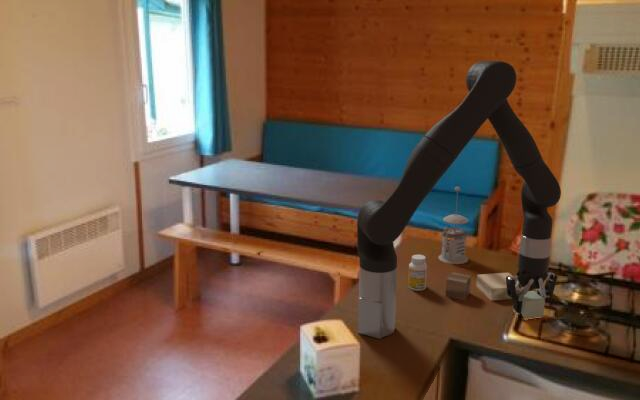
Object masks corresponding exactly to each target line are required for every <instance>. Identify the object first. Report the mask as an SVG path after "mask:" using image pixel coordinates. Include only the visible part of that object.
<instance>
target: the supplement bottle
mask: <svg viewBox="0 0 640 400" xmlns="http://www.w3.org/2000/svg"><path fill="white" fill-rule="evenodd" d="M407 277H408V280H407V281H408V283H407V285H408V288H409V290H412V291H419V292H420V291H425V290H426V289H427V285H428V284H427V281H428V280H427V279H428V265H427V263H426V256H425V255H423V254H413V255H412V256H411V262H409V264H408V276H407Z"/></svg>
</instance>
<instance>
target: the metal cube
mask: <svg viewBox="0 0 640 400" xmlns="http://www.w3.org/2000/svg"><path fill="white" fill-rule="evenodd" d="M471 280H472V275H468V274H464V273H463V274H462V273H458V272H454V271H453V272H451V273H450V274H449V275H448V277H447V278H446V282H445V297H447V298H451V299H456V300H460V301H466V299H467V298H468V297H469V295H470V294H471V287H472V285H471V283H472V281H471Z"/></svg>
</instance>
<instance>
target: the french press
mask: <svg viewBox="0 0 640 400" xmlns="http://www.w3.org/2000/svg"><path fill="white" fill-rule="evenodd" d="M454 191H456V198H458V195H459V192H458V191H461V187H460V186H455V187H454ZM457 210H458V201H456V205H455V213H457ZM442 220H443V222H444V223H446V224H448V225H449V224H450V225H454V227H452V226H451V227H448V226H447V225H446V226H445V227H444V228H443V231H442V233H441V254H440V255H438V260H440V261H441V262H443V263H446V264H451V265H461V264H462V265H463V264H465V263H467V262H469V259H468V257H467V256H466V246H467V244H466V243H467V238H468V237H467V235H466V234H467V232H466V230H464V229H463V228H457V227H456V225H457V226H458V225H466V224H467V223H468V222H469V219H468V218H467V217H465V216H463V215H460V214H449V215H447V216H444V218H443V217H442Z"/></svg>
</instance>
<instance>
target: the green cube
mask: <svg viewBox="0 0 640 400" xmlns="http://www.w3.org/2000/svg"><path fill="white" fill-rule="evenodd" d="M545 303H546V298H545V299H544V298H542V297H541V296H540V295H538V294H537V292H536V291H534V290H528V292H527V294H525V295H524V297H523V299H522V309H521V314H522V316H523V317H524V319H525V318H535V317H543V318H544V313H545V312H544V310H545V305H546V304H545ZM512 311H513V313H515V312H516V311H515V310H514V309H513V308H512Z"/></svg>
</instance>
